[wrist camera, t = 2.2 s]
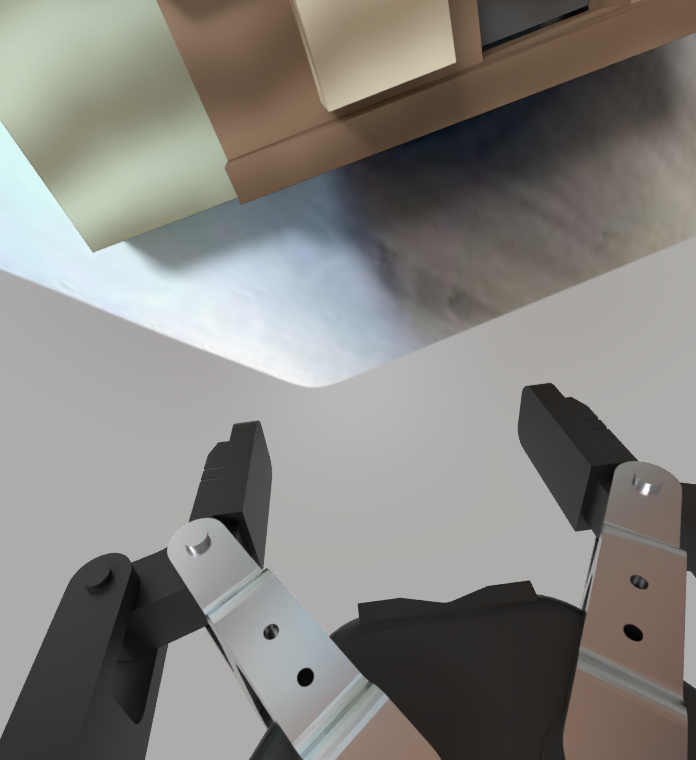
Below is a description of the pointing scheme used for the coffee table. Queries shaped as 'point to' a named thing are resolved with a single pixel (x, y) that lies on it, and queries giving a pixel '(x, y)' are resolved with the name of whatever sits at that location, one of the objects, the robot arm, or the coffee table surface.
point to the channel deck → (258, 94)
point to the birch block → (372, 44)
